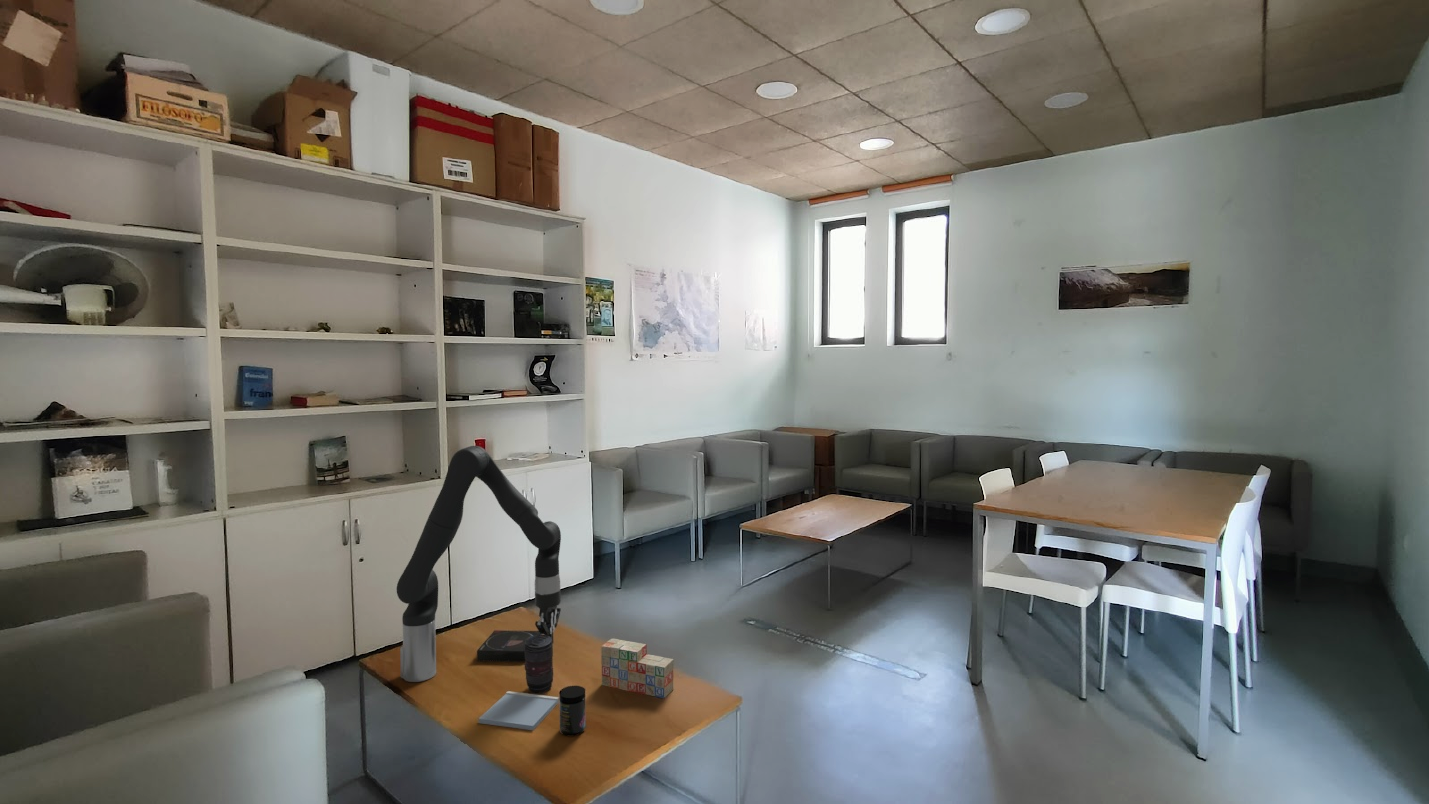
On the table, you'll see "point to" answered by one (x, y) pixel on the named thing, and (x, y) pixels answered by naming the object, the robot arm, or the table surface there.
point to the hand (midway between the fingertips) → (549, 644)
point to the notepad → (519, 710)
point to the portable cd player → (505, 646)
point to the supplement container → (572, 710)
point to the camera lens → (539, 663)
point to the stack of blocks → (635, 669)
